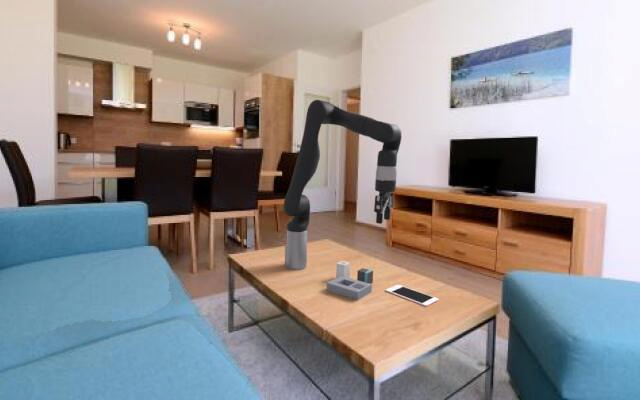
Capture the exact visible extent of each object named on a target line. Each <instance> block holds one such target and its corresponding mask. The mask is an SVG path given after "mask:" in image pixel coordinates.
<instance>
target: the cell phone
mask: <svg viewBox="0 0 640 400" xmlns="http://www.w3.org/2000/svg"><path fill="white" fill-rule="evenodd" d="M384 292H386V293H389V294H391V295H394V296H397V297H399V298H402V299H404V300H408V301H410V302H412V303H415V304H417V305H421V306H423V307H426V308H427V307H429V306H431V305H433V304H435V303H437V302H439V301H438V300H439V298H437V297H435V296H432V295H429V294H426V293H423V292H421V291H418V290H416V289H412V288H409V287H406V286H405V285H401V284H395V285H393V286H391V287H389V288H386V289H385V290H384Z"/></svg>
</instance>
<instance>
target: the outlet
mask: <svg viewBox="0 0 640 400" xmlns="http://www.w3.org/2000/svg"><path fill="white" fill-rule="evenodd" d="M372 288H373V283H371V284H369V283H365V282H362V281H358V280H357V279H354V278H350V277H349V278H348V277H344V276H340V277H338V278H336V277H335V278H334V279H331V280H329V281H327V282H326V291H327V292H328V291H329V292H330V293H334V294H338V295H341V296H344V297H346V298H350V299H354V300H356V301H359V300H361V299H362V298H364V297H365V296H368V295H369V294H370V293H372V290H373V289H372Z"/></svg>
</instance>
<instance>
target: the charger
mask: <svg viewBox="0 0 640 400" xmlns="http://www.w3.org/2000/svg"><path fill="white" fill-rule="evenodd" d="M350 268H351V262H348V261H345V260H340V261H339V262H336V268H335V269H336V273H335V274H336V275H335V279H336V278H338V277H340V276H344V277H348V278H350V275H351V273H350V272H351V271H350V270H351V269H350Z"/></svg>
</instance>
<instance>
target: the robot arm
mask: <svg viewBox="0 0 640 400" xmlns="http://www.w3.org/2000/svg"><path fill="white" fill-rule="evenodd" d="M322 125H334V126H340V127H343V128H346V129H347V130H349V131H350V132H353V133H355V134H358V135H360V136H365V137H367V138H370V139H372V140H374V141H377V142H380V143H382V148H381V150H380V151H378V153H377V162H376V163H377V164H376V171H375V181H374V190H375V191H376V192H378V195H375V196H374V207H373V212H375V213H376V215H375V217H376V218H375V223H376V224H381V225H382V224H383V222H384V221H383V220H386V221H389V220H390V219H391V211H392V208H393V207H394V193H395V192H396V189H397V188H396V187H397V173H398V172H397V164H398V163H397V162H398V160H397V159H398V153H399V149H400V146H401V142H402V130H401V128H400V126H399V125H397V124H394V123H390V122H389V123H388V122H384V121H379V120H377V119H375V118H373V117H369V116H367V115H363V114H359V113H355V112H351V111H350V112H349V111H348V110H344V109H343V108H340V107H339V106H336V105H334V104H333V103H331V102H330V101H329V102H328V101H325V100H320V99H315V100H312V101H311V102H310V104H309V106H308V108H307V111H306V117H305V122H304V130H303V134H302V140H301V143H300V148H299V152H298V155H297V158H296V162H295V167H294V171H293V174H292V177H291V181H290V184H289V187H288V189H287V192H286V195H285V198H284V200H283V210H284V213H285V214H286V215H287V216H288V217H292V219H291V220H290V221H289V222H288V223H287V224H286V245H284V246H285V247H284V266H285V267H286V268H288V269H289V270H303V269H306V268H307V258H308V257H307V256H308V255H307V254H308V253H307V252H308V227H309V224H310V218H311V217H310V215H311V203H310V202H311V201H310V199H309V197H308V196H307V195H305V194H303V193H304V190H305V188H306V186H307V185H308V183H309V182H310V181H311V180H312V178H313V177H314V175H315V173H316V171H317V169H318V166H319V162H320V158H321V149H320V145H319V144H320V143H319V134H320V132H321V131H320V130H321V127H322Z"/></svg>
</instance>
